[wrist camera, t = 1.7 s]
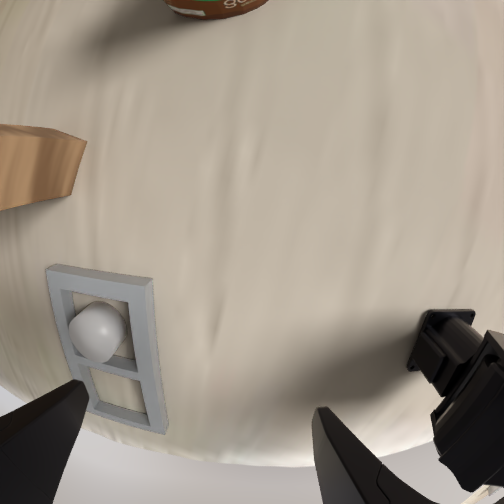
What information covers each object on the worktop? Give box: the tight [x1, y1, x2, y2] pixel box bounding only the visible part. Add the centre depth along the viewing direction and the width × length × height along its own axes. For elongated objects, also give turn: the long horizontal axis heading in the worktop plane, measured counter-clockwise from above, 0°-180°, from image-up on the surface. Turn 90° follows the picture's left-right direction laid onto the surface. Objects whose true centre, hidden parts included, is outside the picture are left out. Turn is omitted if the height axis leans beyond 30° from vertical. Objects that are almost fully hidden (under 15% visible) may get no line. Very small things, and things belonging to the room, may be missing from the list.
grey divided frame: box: [46, 264, 169, 435], centre depth 21 cm, size 10×18×3 cm, turn 175°
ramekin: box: [488, 486, 502, 496], centre depth 41 cm, size 11×11×5 cm
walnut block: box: [0, 124, 87, 211], centre depth 12 cm, size 4×4×11 cm
